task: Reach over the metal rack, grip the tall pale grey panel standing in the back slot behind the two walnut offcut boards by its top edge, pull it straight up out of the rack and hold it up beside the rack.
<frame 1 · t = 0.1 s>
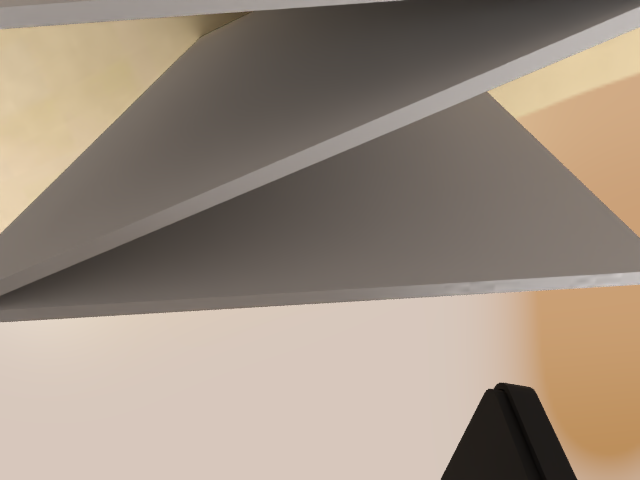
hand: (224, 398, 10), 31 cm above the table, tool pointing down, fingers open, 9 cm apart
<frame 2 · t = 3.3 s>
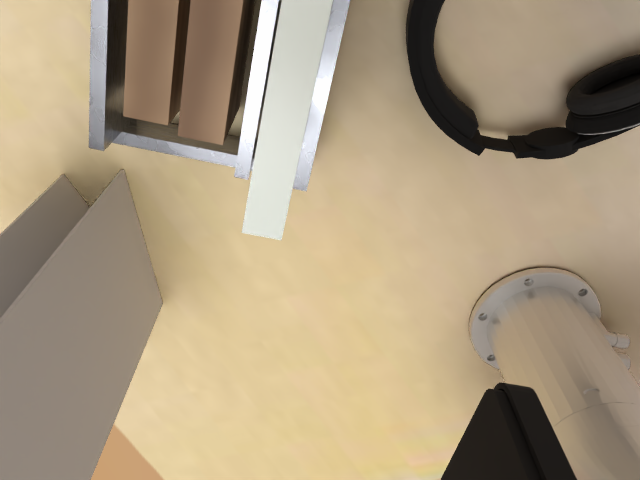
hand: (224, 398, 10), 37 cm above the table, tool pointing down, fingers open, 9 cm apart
offcut tall: (231, 25, 41), resting in rack
brochure: (115, 242, 51), on the table
offcut short: (177, 13, 41), resting in rack
rack: (246, 29, 41), on the table
headphones: (531, 26, 42), on the table
pale grey panel: (297, 41, 42), resting in rack
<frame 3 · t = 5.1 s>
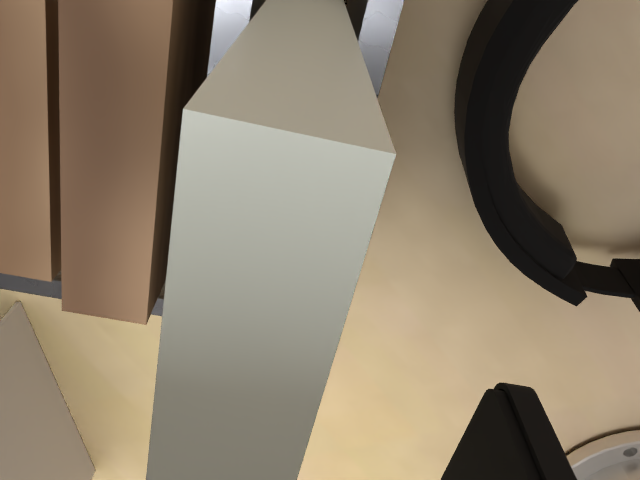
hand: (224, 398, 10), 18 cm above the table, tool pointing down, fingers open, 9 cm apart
offcut tall: (175, 91, 25), resting in rack
brochure: (19, 394, 34), on the table
offcut short: (85, 72, 24), resting in rack
rack: (201, 98, 25), on the table
pale grey panel: (286, 116, 25), resting in rack
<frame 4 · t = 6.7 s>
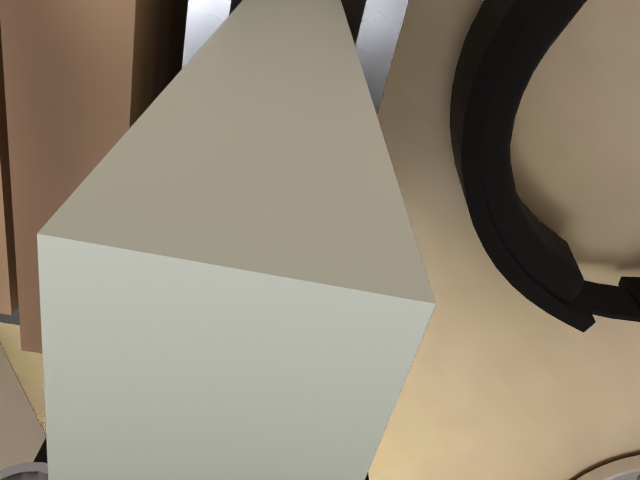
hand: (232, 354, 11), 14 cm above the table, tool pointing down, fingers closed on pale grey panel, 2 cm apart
offcut tall: (153, 98, 23), resting in rack
offcut short: (53, 77, 22), resting in rack
rack: (182, 105, 23), on the table
pale grey panel: (276, 122, 23), resting in rack, touching gripper
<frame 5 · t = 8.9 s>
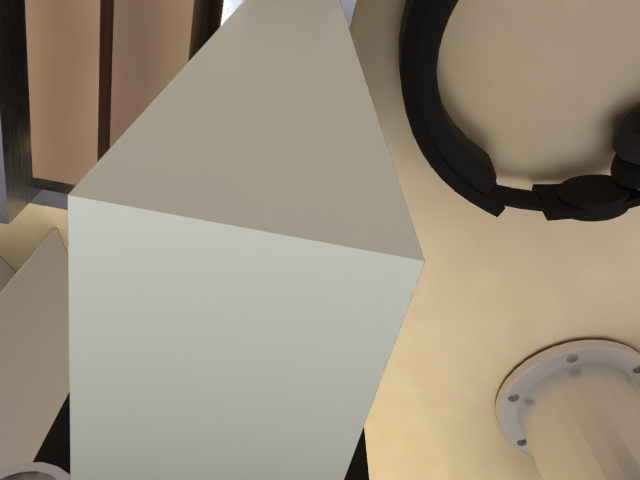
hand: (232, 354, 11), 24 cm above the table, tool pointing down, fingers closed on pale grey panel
offcut tall: (189, 44, 31), resting in rack
brochure: (53, 313, 40), on the table
offcut short: (116, 28, 30), resting in rack
rack: (210, 49, 31), on the table
headphones: (566, 43, 31), on the table
pale grey panel: (276, 123, 23), point 9 cm above the table, touching gripper
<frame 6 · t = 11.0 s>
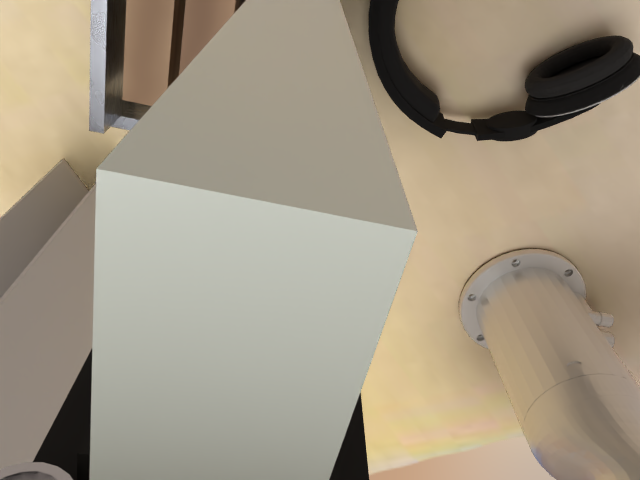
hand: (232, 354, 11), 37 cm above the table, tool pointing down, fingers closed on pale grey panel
offcut tall: (226, 12, 43), resting in rack
brochure: (115, 225, 52), on the table
offcut short: (174, 0, 42), resting in rack
rack: (241, 16, 43), on the table
headphones: (491, 12, 43), on the table
pale grey panel: (276, 120, 24), point 23 cm above the table, touching gripper
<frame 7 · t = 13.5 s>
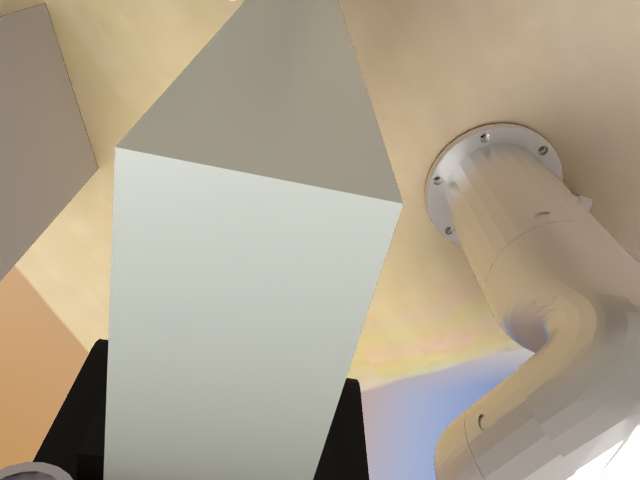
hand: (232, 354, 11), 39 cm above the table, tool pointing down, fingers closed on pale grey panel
brochure: (43, 94, 47), on the table
pale grey panel: (277, 118, 24), point 24 cm above the table, touching gripper
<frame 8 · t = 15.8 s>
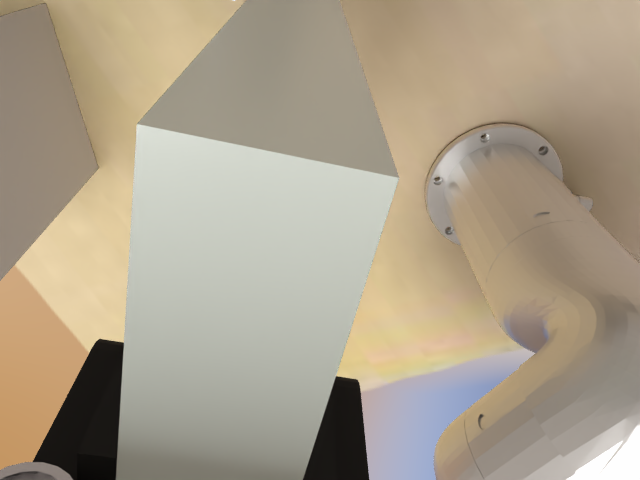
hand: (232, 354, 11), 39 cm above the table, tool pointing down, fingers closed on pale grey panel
brochure: (43, 94, 47), on the table
pale grey panel: (278, 114, 24), point 23 cm above the table, touching gripper
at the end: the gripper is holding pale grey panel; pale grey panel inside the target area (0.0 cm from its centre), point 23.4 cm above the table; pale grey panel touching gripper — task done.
